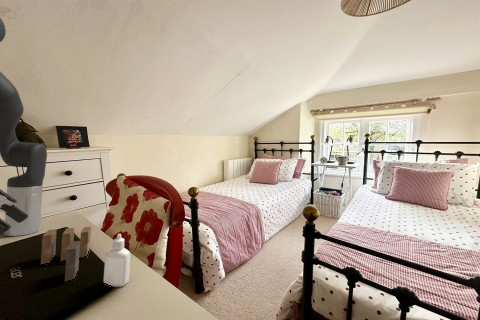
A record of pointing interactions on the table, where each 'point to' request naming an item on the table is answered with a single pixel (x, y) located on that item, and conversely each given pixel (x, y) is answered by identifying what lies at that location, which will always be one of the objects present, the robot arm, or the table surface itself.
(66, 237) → the domino
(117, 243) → the eye dropper bottle
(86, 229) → the domino
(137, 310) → the table surface
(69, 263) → the loose domino
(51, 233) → the domino
